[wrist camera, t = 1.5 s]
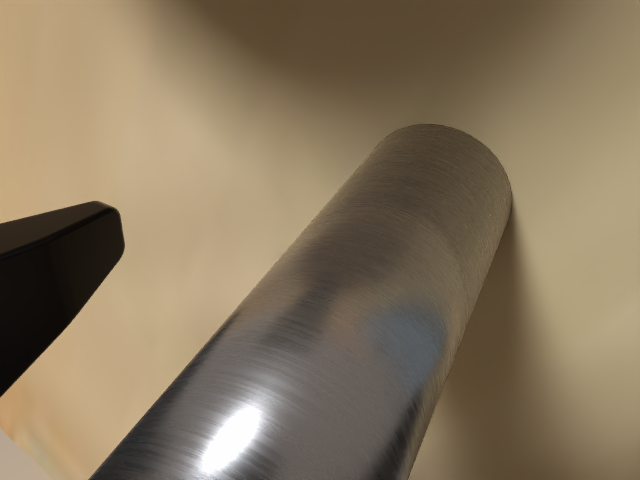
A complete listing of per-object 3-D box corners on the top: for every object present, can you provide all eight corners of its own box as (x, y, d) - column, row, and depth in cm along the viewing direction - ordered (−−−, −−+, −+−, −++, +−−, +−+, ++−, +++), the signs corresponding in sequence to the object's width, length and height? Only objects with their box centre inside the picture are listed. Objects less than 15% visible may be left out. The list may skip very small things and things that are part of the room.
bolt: (502, 302, 12) (293, 932, 5) (332, 237, 13) (-21, 689, 6) (573, 135, 10) (346, 932, 3) (356, 72, 11) (-186, 529, 4)
